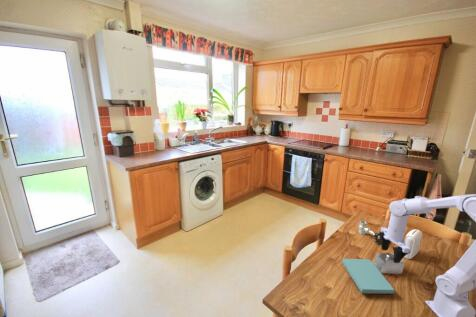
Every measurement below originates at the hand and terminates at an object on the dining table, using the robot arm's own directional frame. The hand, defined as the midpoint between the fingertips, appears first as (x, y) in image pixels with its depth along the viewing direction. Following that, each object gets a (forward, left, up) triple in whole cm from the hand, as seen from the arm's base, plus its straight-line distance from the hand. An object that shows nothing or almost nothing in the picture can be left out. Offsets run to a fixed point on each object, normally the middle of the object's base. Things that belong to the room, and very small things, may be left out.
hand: (390, 255), depth 93 cm
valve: (+23, -5, -7) cm, 25 cm away
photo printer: (+10, -17, -7) cm, 21 cm away
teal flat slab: (-6, +13, -7) cm, 16 cm away
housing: (0, 0, -7) cm, 7 cm away
